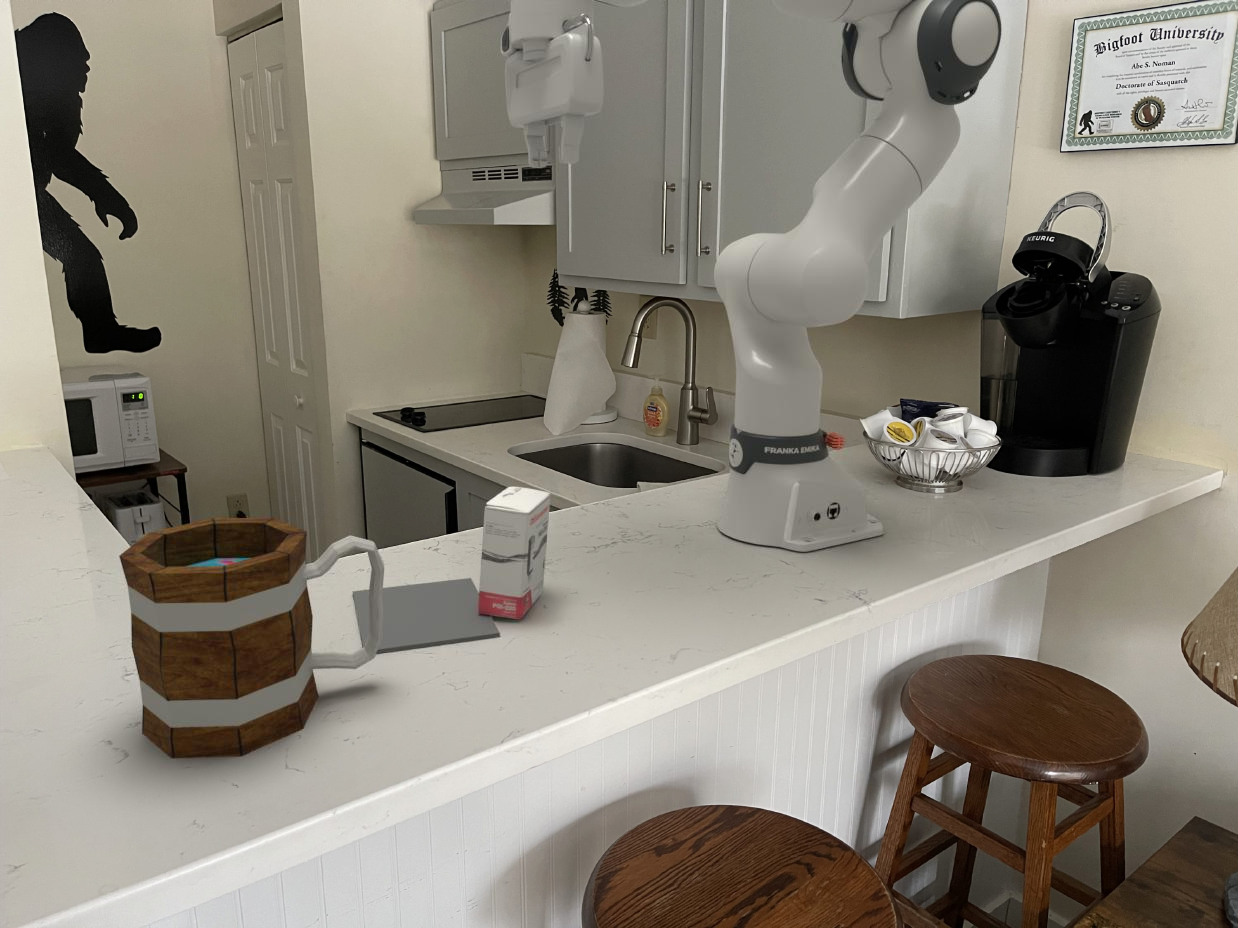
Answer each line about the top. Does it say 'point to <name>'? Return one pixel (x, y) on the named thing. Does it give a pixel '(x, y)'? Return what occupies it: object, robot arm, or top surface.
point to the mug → (232, 632)
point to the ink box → (513, 551)
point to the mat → (426, 615)
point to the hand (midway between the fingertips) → (552, 165)
